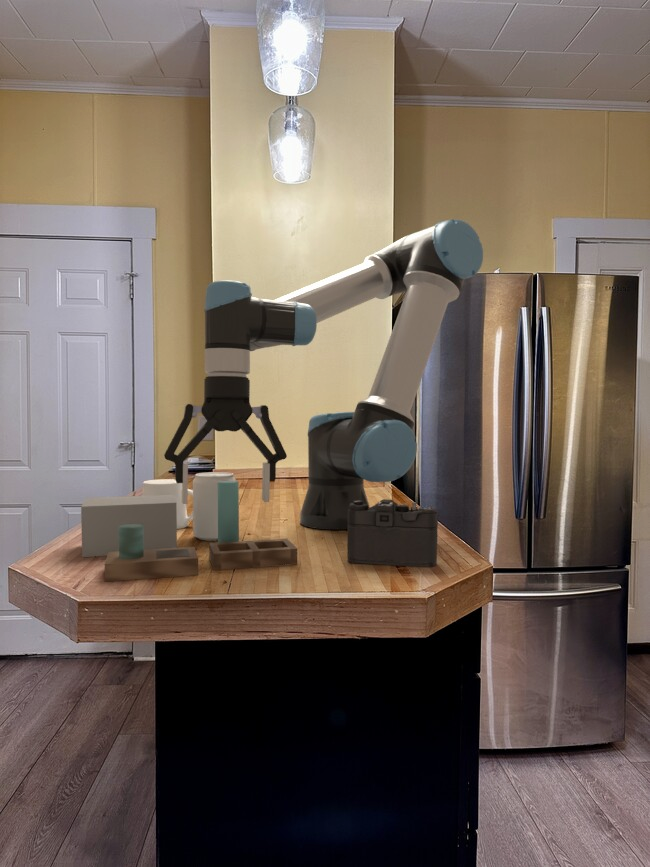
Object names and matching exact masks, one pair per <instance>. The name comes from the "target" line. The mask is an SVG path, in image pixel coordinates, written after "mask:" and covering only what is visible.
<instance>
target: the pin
mask: <svg viewBox="0 0 650 867" xmlns="http://www.w3.org/2000/svg"><path fill="white" fill-rule="evenodd" d="M239 486H240V485H239V481H237V480H236V481H221V482H218V541H217V543H221V542H238V541H240V520H239V519H240V516H239V515H240V510H239V504H240V503H239V498H240V493H239V490H240V489H239Z"/></svg>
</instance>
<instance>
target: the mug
mask: <svg viewBox="0 0 650 867" xmlns="http://www.w3.org/2000/svg"><path fill="white" fill-rule="evenodd" d="M151 495H175V499H176V509H177V530H181V529H184V528H187V526H188V525H189V522H190V521H192V520H193V511H192V512H191V514H190V515H189V516H188V511H187V504H183V503H182V483H177V482H176V480H175V479H173V478H171V479H170V478H169V479H168V478H167V479H163V478H161V479H150V480H144V481H143V482H142V490H141V496H151ZM188 495H190V496H191V497H192V498H193V489H189V488H188Z"/></svg>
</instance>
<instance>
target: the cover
mask: <svg viewBox="0 0 650 867" xmlns="http://www.w3.org/2000/svg"><path fill="white" fill-rule="evenodd" d="M80 509H81V510H80V514H81V516H80V517H81V522H80V523H81V557H82V558H92V557H93V558H94V557H95V556H96V557H107V555H108V552H116V551H119V526H122V525H128V524H140V525H143V547H144V550H150V549H167V548H178V533H177V532H178V531H177V530H178V529H177V509H176V499H175V495H151V496H142V495H132V496H131V495H129V496H105V497H104V496H102V497H101V496H100V497H86V498H85V500H84V502H83V503H82V504H81V506H80Z"/></svg>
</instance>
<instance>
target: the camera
mask: <svg viewBox="0 0 650 867" xmlns="http://www.w3.org/2000/svg"><path fill="white" fill-rule="evenodd" d="M363 502H364V501H360V500H356V501H354V502H353V503H352V504H350V505H349V509H348V529H347V539H346V540H347V541H346V542H347V544H346V547H347V548H346V549H347V551H346V552H347V557H346V558H347V562H349V563H353V564H363V565H379V566H380V565H381V566H392V567H393V566H396V567H398V566H399V567H410V568H411V567H412V568H414V567H415V568H435V567H436V566H437V564H438V563H437V562H438V561H437V559H438V558H437V557H438V526H439V524H438V523H439V521H438V520H439V516H438V515H439V513H438V511H437V509H436V507H433V506H432V507H430V506H422V507H418V506H417V504H418V503H417V502H411V505H412V506H410V505H408V504H398V503H397V502H395V501H394V500H392V499H389V498H388V499H381V500H380V501H378V502H376V504H373V505H372V506H370V507H369V508H368V505H367V504H363Z"/></svg>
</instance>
